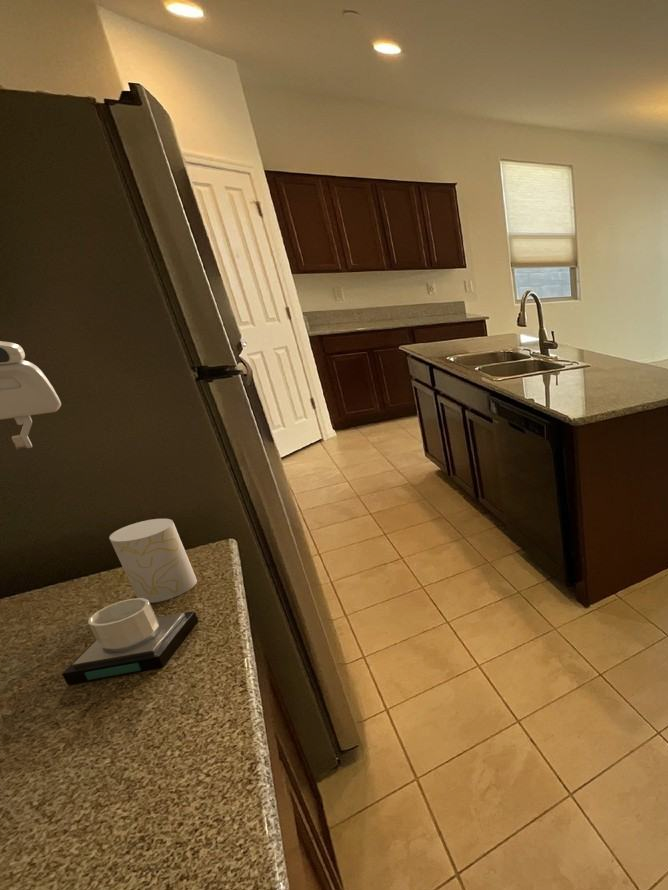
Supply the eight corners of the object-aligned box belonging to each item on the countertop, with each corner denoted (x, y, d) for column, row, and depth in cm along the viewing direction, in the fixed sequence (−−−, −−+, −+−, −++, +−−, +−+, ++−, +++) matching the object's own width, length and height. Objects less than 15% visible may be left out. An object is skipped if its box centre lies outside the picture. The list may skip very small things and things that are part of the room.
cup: (137, 608, 87) (107, 546, 83) (137, 588, 93) (110, 528, 88) (198, 589, 92) (174, 530, 87) (195, 571, 98) (172, 514, 93)
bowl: (90, 655, 73) (76, 629, 71) (118, 627, 79) (105, 602, 77) (145, 646, 75) (133, 620, 73) (168, 618, 80) (157, 594, 79)
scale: (66, 686, 71) (58, 671, 70) (115, 634, 81) (108, 621, 80) (162, 668, 74) (156, 654, 73) (198, 621, 84) (193, 607, 83)
